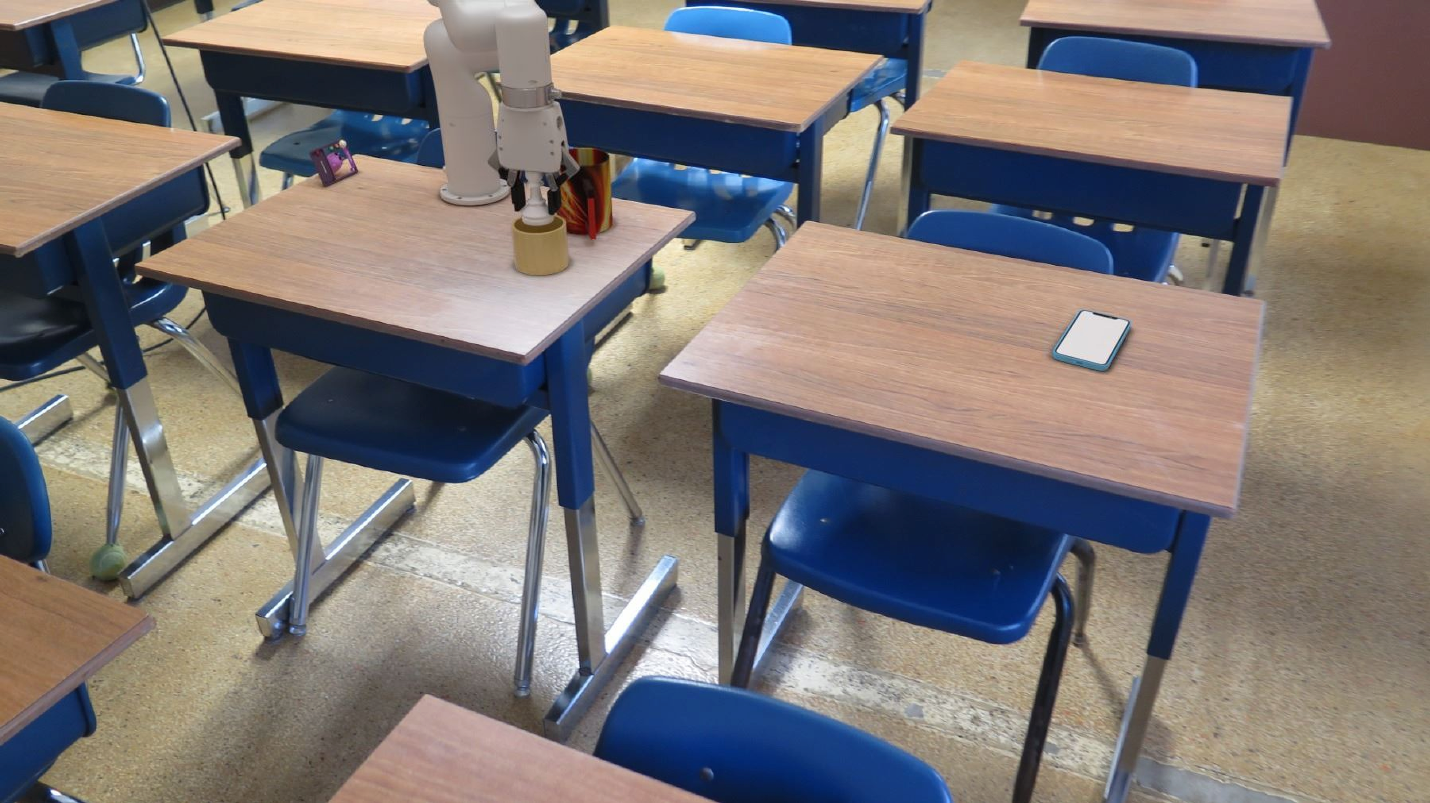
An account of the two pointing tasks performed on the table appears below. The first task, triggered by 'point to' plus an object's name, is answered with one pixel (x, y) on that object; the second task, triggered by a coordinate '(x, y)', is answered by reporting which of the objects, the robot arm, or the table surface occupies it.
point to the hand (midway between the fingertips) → (537, 209)
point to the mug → (587, 193)
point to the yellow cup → (540, 247)
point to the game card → (331, 162)
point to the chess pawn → (535, 202)
